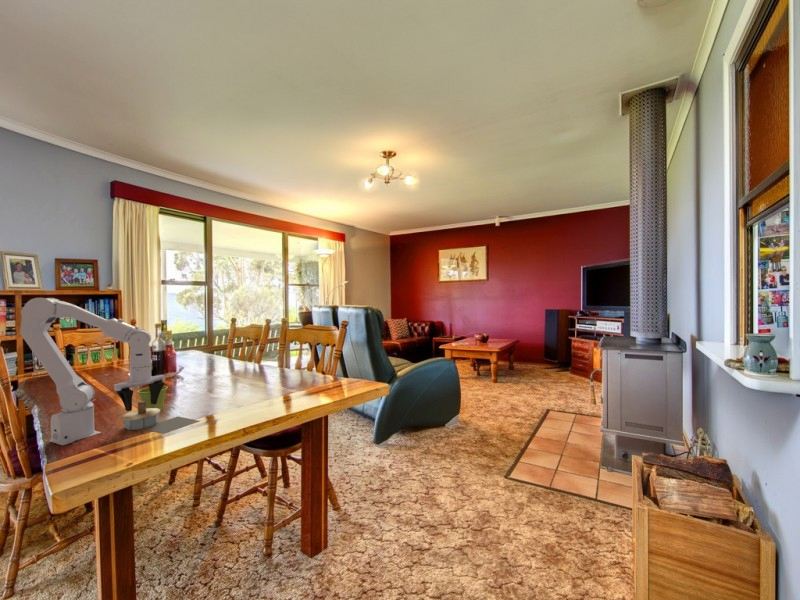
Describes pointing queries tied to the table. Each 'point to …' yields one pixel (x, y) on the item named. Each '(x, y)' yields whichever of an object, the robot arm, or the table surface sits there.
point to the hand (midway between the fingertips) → (141, 407)
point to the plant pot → (145, 396)
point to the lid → (141, 412)
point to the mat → (171, 425)
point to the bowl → (141, 423)
